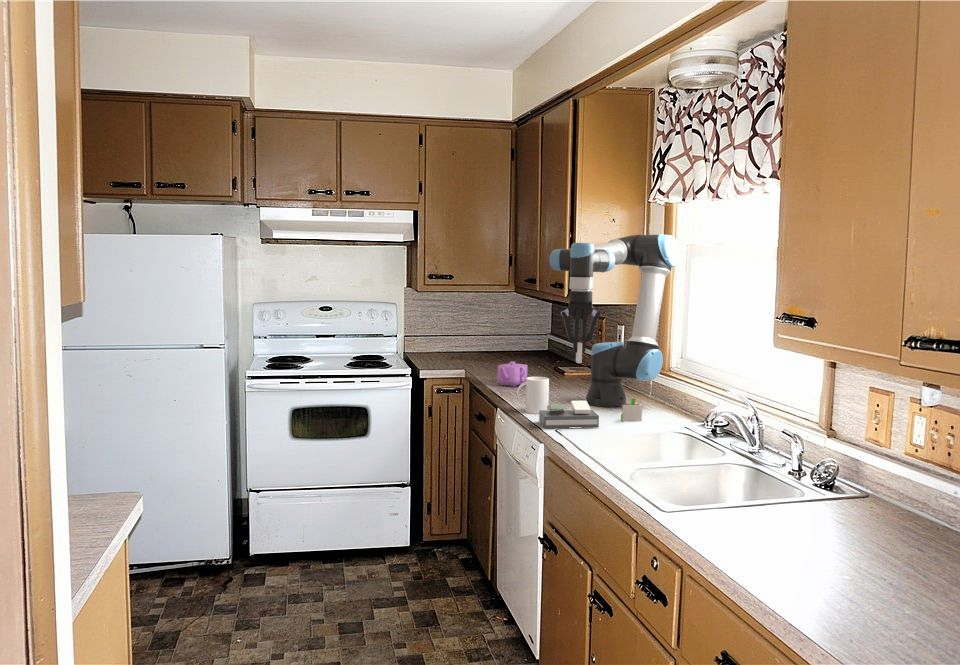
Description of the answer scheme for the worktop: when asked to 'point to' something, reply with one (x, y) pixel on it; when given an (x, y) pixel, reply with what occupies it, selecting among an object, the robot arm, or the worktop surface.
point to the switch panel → (567, 419)
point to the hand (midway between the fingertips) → (578, 362)
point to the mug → (536, 394)
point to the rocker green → (556, 407)
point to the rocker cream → (580, 407)
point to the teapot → (512, 374)
